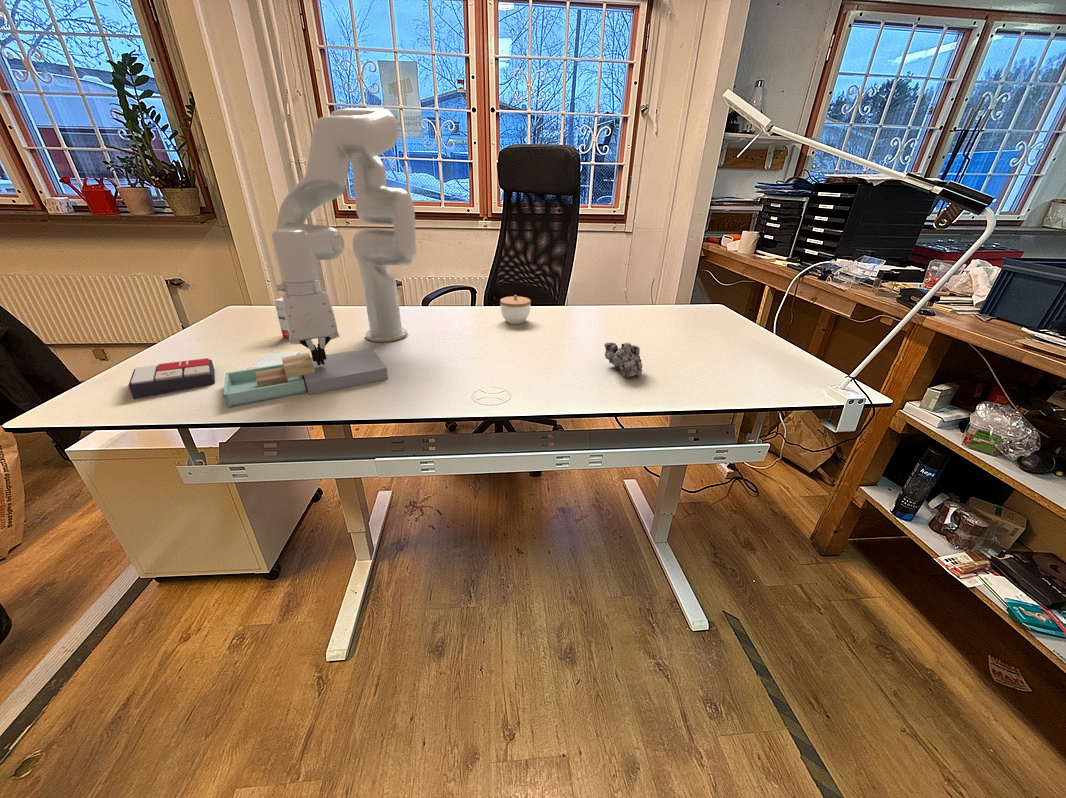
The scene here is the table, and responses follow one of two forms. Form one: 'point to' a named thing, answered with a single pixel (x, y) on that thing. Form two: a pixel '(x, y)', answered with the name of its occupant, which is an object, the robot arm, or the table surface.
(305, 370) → the tile oak
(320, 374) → the board
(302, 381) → the tray
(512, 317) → the lidded jar
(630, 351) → the mineral specimen
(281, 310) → the ink box
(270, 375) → the tile walnut
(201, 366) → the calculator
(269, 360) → the hard drive
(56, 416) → the table surface
